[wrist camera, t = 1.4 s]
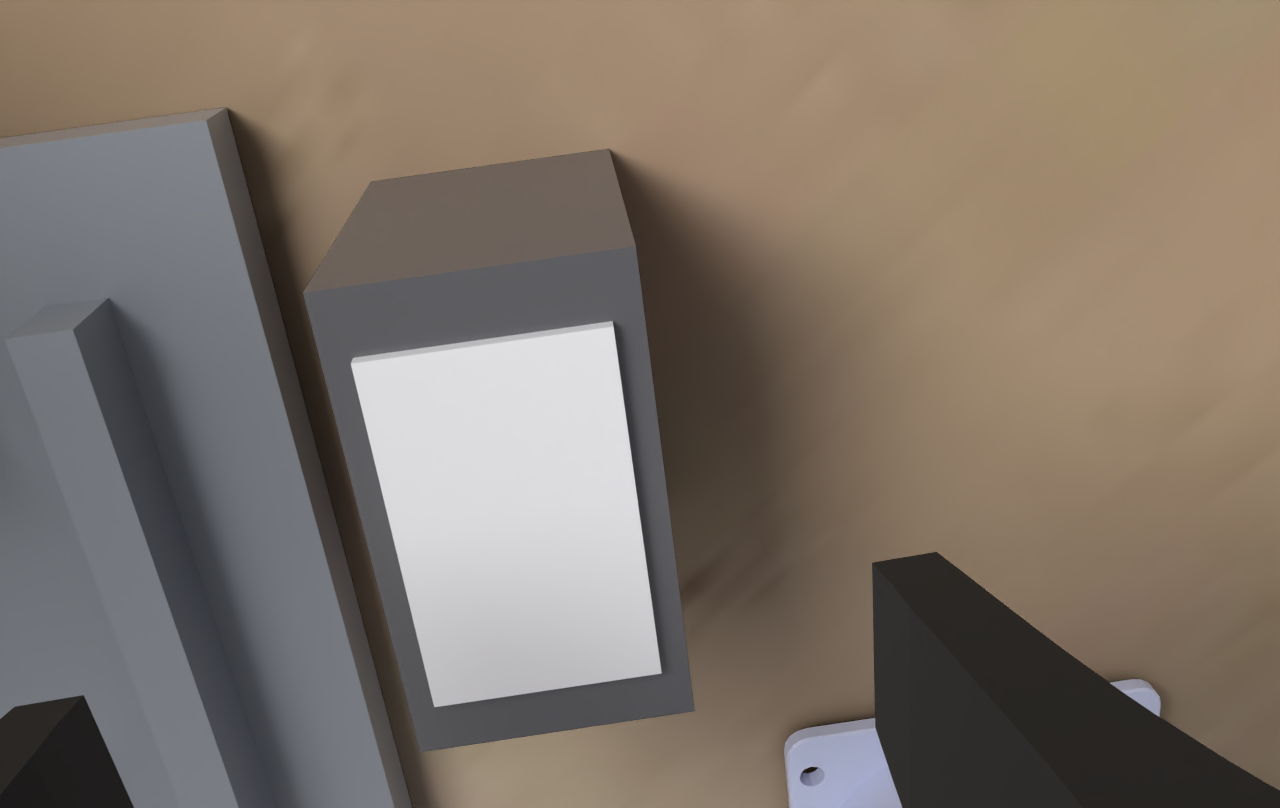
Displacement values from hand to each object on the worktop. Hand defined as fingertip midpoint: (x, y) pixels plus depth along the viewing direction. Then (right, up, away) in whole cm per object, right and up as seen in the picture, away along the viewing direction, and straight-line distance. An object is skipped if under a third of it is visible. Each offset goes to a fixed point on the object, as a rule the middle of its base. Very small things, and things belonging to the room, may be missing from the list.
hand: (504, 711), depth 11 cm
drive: (-1, +4, +10) cm, 11 cm away
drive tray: (-10, -1, +11) cm, 15 cm away
